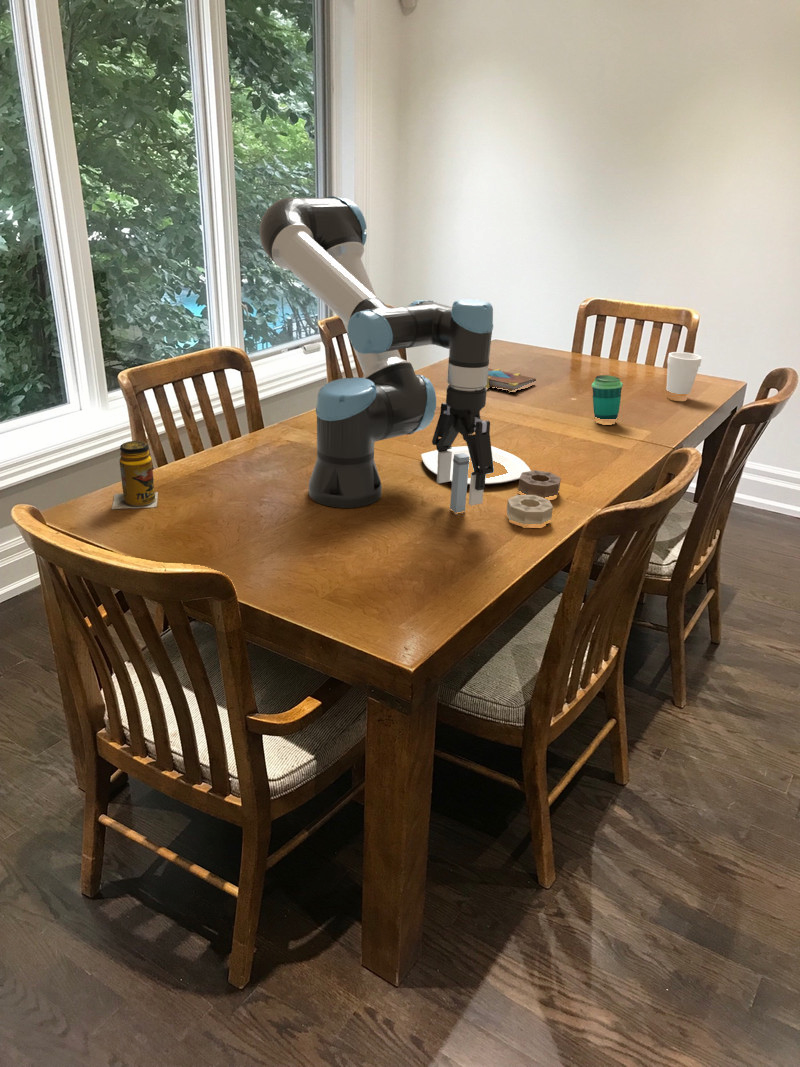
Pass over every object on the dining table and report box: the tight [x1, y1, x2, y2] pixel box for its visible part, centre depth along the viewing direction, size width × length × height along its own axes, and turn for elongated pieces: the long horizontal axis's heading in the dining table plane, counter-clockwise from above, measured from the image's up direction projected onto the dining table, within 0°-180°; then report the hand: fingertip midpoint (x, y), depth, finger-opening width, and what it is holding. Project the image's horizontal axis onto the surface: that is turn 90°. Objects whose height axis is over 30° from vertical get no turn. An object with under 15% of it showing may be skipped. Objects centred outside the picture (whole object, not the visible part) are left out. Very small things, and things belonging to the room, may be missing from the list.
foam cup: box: [665, 351, 703, 394], centre depth 243 cm, size 10×9×13 cm
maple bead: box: [506, 494, 554, 524], centre depth 162 cm, size 8×8×4 cm
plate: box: [420, 445, 532, 486], centre depth 186 cm, size 23×23×2 cm
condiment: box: [111, 440, 159, 510], centre depth 161 cm, size 7×8×12 cm
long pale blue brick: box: [449, 453, 469, 513], centre depth 163 cm, size 2×2×12 cm
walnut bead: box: [517, 469, 562, 498], centre depth 175 cm, size 8×8×4 cm
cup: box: [591, 374, 624, 419], centre depth 220 cm, size 8×8×12 cm
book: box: [485, 367, 537, 391], centre depth 253 cm, size 16×25×5 cm, turn 54°
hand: (458, 492), depth 163 cm, fingers open, 11 cm apart
